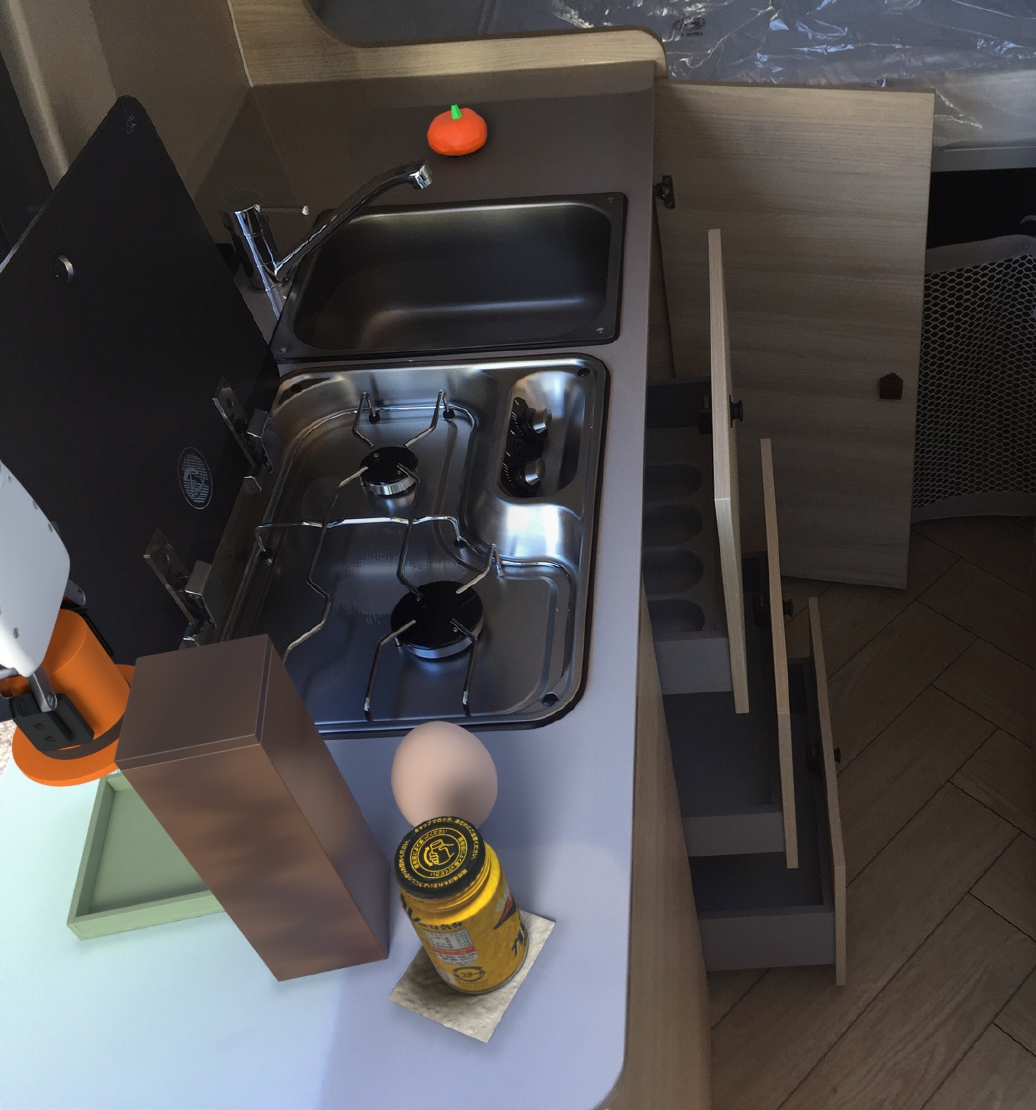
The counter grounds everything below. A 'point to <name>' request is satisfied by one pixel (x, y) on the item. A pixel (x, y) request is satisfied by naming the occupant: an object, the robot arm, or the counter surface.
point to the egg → (443, 775)
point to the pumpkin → (457, 132)
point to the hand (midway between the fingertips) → (78, 697)
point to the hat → (77, 705)
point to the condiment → (462, 928)
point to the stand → (257, 804)
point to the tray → (132, 869)
